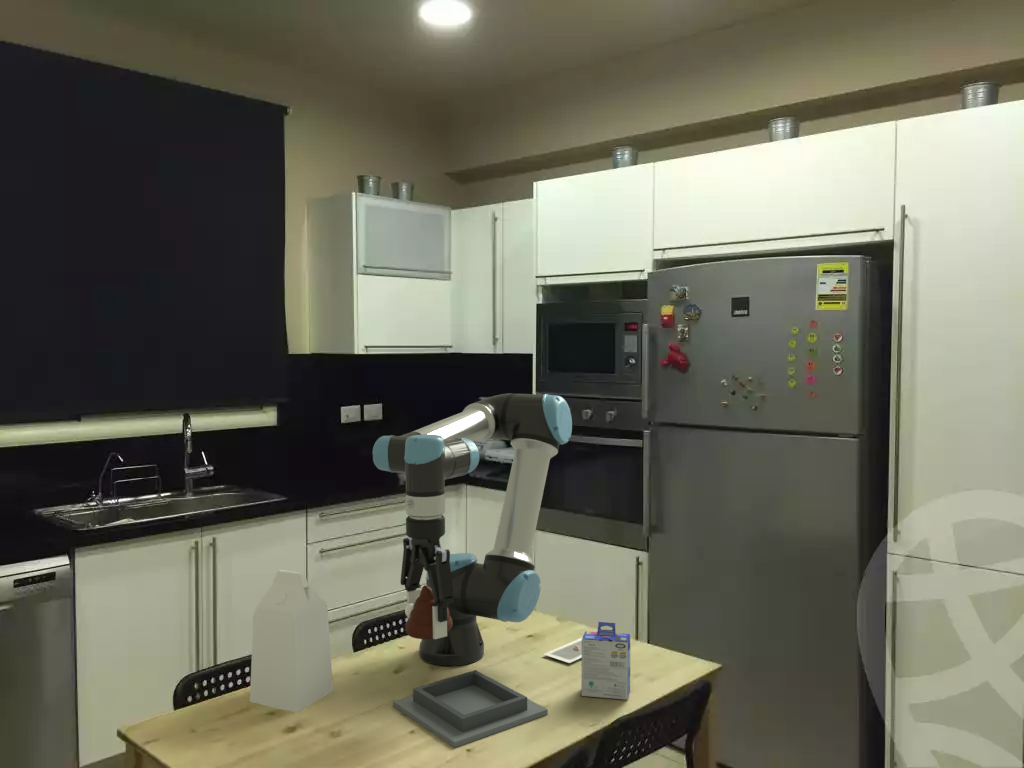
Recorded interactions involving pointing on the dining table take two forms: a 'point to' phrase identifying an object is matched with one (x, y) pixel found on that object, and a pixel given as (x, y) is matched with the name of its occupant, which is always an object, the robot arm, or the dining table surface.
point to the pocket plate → (468, 707)
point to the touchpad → (567, 651)
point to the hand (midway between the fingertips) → (426, 629)
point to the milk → (290, 645)
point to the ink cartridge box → (606, 663)
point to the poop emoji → (423, 616)
